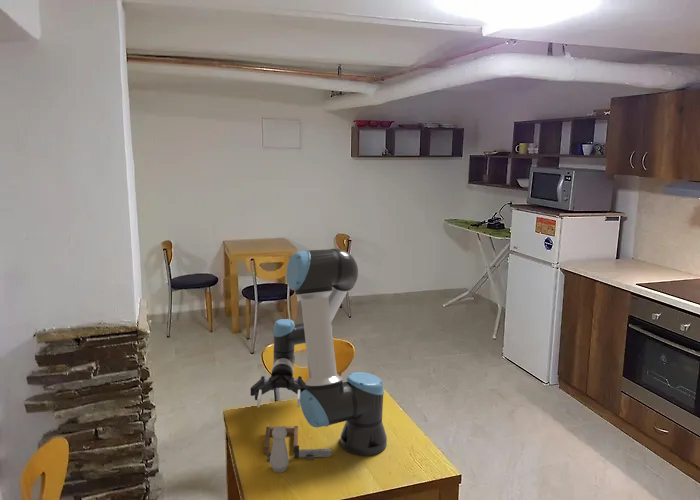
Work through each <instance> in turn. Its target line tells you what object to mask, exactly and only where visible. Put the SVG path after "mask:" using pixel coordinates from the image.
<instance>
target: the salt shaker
mask: <svg viewBox="0 0 700 500" xmlns="http://www.w3.org/2000/svg"><path fill="white" fill-rule="evenodd" d="M275 427H276V428H274V429H273V431H272V435H271V436H272V438H273V442H272V446H271V451H270V452H271V456H269V457H270V461H269V465H270V467H271V468H272V470H273V471H274V473H283V472H284V471H287V468H288V466H289V464H290V458H289V453H288V448H287V443H286V442H287V441H286V437H287V436H288V435H287V431H286V429H285V428H284V427H279V426H275Z"/></svg>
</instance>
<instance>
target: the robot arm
mask: <svg viewBox="0 0 700 500" xmlns="http://www.w3.org/2000/svg"><path fill="white" fill-rule="evenodd" d="M358 277H359V268H358V265H357V262H356V260H355V258H354V256H353V255H352V254H351V253H349V252H348V251H346V250H344V249H341V248H329V249H328V248H327V249H314V250H313V249H312V250H303V251H298V252H297V251H296V252H294V253H293V254H292V255H291V256H290V258H289V260H288V263H287V266H286V282H287V286H288V288H289V289H290V290H292V291H294V292H295V293H294V294H295V297H297V298H298V299H299V300H300V303H301V305H300V306H301V313H302V322H299V323H295V321H294V320H292V319H291V318H286V319H285V318H281V319H277V320H275V322H274V324H273V334H272V335H273V363H272V367H271V368H272V369H271V373H270V377H269V378H266V376H263V375H262V376H261V377H260V378H259V380H258V381H256V382H255V383H254V384H253V385H252V386H251V387H250V396H251V397H254V400H255V401H256V403H257V404H256V407H257V408H260V407H261V402H262V396H263V395H265V394H266V393H267V392H270V391H274V390H275V389H280V388H281V389H286V390H288V391H292V392H294V394H296V395H297V400H296V401H297V402H296V403H297V405H296V406H297V407H296V408H300V407H301V411H302V414H303V416H304V419H305V421H307V423H308V424H309V426H311V427H313V428H322V427H329V426H331V425H335V424H339V423H344V422H345V423H344V425H343V428H342V431H341V433H340V441H339V443H340V446H341V448H342V449H344V451H346V452H347V453H350V454H353V455H355V456H363V457H364V456H374V455H376V454H377V455H378V454H380V453H381V452H383V451H384V450H385V449H386V448H387V444H388V440H387V439H388V437H387V433H386V430H385V426H384V424H383V410H384V409H383V408H384V407H383V405H384V395H385V392H384V383H383V381H382V379H381V378H380V377H379V376H377V375H374V374H372V373H368V372H363V371H355V372H351V373H349V374H348V375H347V378H346V381H344V382H343V377H342V376H341V375H339V374H338V372H337V363H336V354H335V347H334V337H333V325H332V322H333V319H334V318H335V316H336V314H337V313H338V311H339V308H340V307H341V304H342V303H343V300H344V299H345V297H346V296H347V293H348V292H349V291H351V290H352V289H353V288H354V287H355V285H356V283H357V281H358ZM302 344H305V348H306V349H305V351H306V357H307V358H306V359H307V369H308V379H307V380H306V381H304V380H303V378H302V377H303V376H298V377H297V378H294V364H295V359H296V358H295V357H296V356H295V346H296V345H297V346H298V345H302Z"/></svg>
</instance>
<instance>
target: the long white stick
mask: <svg viewBox="0 0 700 500" xmlns="http://www.w3.org/2000/svg"><path fill="white" fill-rule="evenodd" d="M306 456H313V458H326V457H327V458H330V457H332V448H313V449H311V448H309V449H308V448H306V449H303V448H302V449H300V445H298V446H294V445H293V458H296V459H297V458H306Z"/></svg>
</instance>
